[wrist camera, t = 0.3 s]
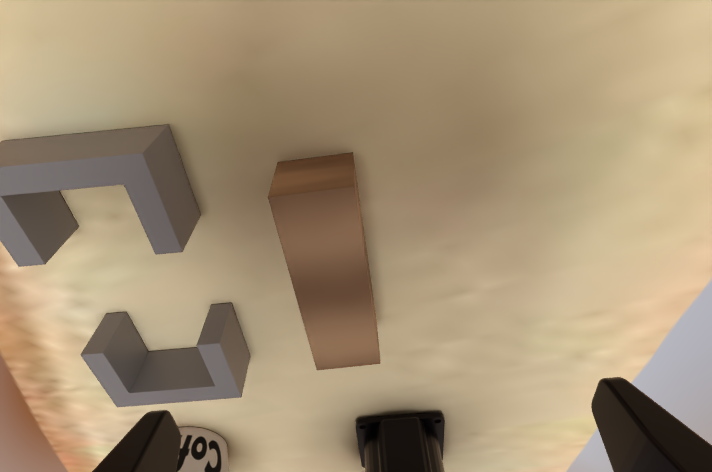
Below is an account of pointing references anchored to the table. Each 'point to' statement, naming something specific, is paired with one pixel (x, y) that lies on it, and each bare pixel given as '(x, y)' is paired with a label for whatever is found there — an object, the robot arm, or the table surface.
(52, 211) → the end cap
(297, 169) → the slat
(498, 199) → the table surface
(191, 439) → the cup
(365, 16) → the table surface
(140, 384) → the end cap
